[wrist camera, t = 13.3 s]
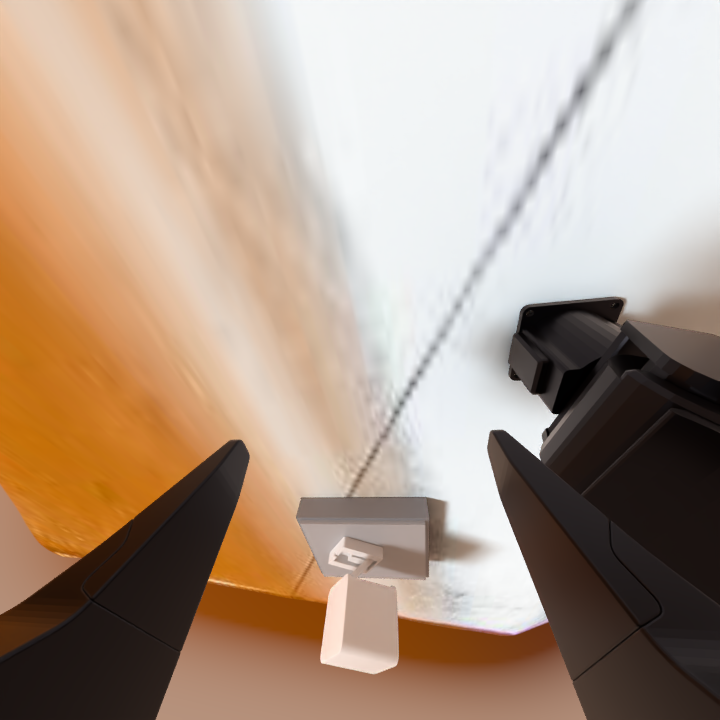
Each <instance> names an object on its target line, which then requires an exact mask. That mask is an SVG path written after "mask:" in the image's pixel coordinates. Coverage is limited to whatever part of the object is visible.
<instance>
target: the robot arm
mask: <svg viewBox="0 0 720 720" xmlns="http://www.w3.org/2000/svg"><path fill="white" fill-rule="evenodd" d="M614 303H615V304H614ZM612 304H614V306H612ZM611 306H612V307H611ZM622 307H623V301H622V300H621V299H619V298H617V297H610V298H599V299H588V300H577V301H566V302H555V303H544V304H533V305H526V306H524V307H523V308H522V309H521V311H520V316H519V321H518V326H517V331H516V333H515V334H514V335H513V339H512V344H511V349H510V355H509V360H508V362H509V364H510V368H509V373H508V375H509V377H510V378H511V379H512V380H514V381H518V380H521V381H522V382H523V383H524V385H525V386H526V387H527V389H528V390H529V392H531V393H532V394H533V395H537V394H538V395H539V396H540V398H541V399H542V400H543V402H544V403H545V404H546V406H547V407H548V408H549V410H550V411H551V412H552V413H553V414H559V415H558V416H557V418H556V419H555V420H554V422H553V423H552V424H551V426H550V427H549V428H546V429H545V430H544V432H543V433H542V439H543V444H542V447H541V450H540V459H541V461H540V460H539V459H538V458H537V457H536V456H534V455H533V454H532V453H531V452H530V451H528V450H527V449H526V448H525V447H524V446H523V445H521V444H520V443H519V442H518V441H517V440H515V439H514V438H513V437H512V436H511V435H509V434H508V433H507V432H506V431H504V430H491V431H490V434H489V440H488V446H487V449H488V455H489V459H490V462H491V466H492V470H493V473H494V477H495V481H496V484H497V488H498V492H499V495H500V498H501V501H502V504H503V507H504V509H505V512H506V514H507V517H508V519H509V522H510V524H511V527H512V529H513V532H514V535H515V537H516V540H517V542H518V545H519V547H520V550H521V552H522V555H523V557H524V560H525V563H526V565H527V568H528V570H529V573H530V575H531V578H532V580H533V583H534V585H535V588H536V591H537V593H538V596H539V598H540V601H541V603H542V606H543V608H544V611H545V613H546V616H547V619H548V621H549V623H550V626H551V629H552V631H553V634H554V636H555V639H556V641H557V644H558V646H559V649H560V652H561V654H562V657H563V659H564V662H565V664H566V667H567V669H568V672H569V675H570V677H571V679H572V680H573V685H574V688H575V690H576V693H577V695H578V698H579V700H580V703H581V706H582V708H583V711H584V713H585V716H586V718H587V720H720V337H719V336H716V335H712V334H708V333H702V332H696V331H690V330H684V329H679V328H673V327H667V326H661V325H655V324H649V323H644V322H638V321H632V320H626V322H625V323H624V324H623V326H622V325H620V324H619V323H617V319H618V317H619V314H620V312H621V309H622ZM529 310H531V313H530V314H527V315H526V313H527V312H528V311H529ZM514 374H517V375H514ZM249 458H250V456H249V452H248V450H247V448H246V446H245V444H244V443H243V441H242V440H230V441H228V442H227V443H226V444H225V445H223V446H222V447H221V448H220V449H219V450H217V451H216V452H215V453H214V454H212V455H211V456H210V457H209V458H207V459H206V460H205V461H204V462H202V463H201V464H200V465H199V466H198V467H196V468H195V469H194V470H193V471H191V472H190V473H189V474H188V475H186V476H185V477H184V478H183V479H181V480H180V481H179V482H178V483H176V484H175V485H174V486H173V487H172V488H170V489H169V490H168V491H167V492H165V493H164V494H163V495H162V496H160V497H159V498H158V499H157V500H155V501H154V502H153V503H152V504H151V505H149V506H148V507H147V508H146V509H144V510H143V511H142V512H141V513H139V514H138V515H137V516H136V517H135V518H134V519H132V520H131V521H129V522H128V523H127V524H126V525H124V526H123V527H122V528H121V529H120V530H118V531H117V532H116V533H114V534H113V535H112V536H111V537H109V538H108V539H107V540H106V541H104V542H103V543H102V544H100V545H99V546H98V547H96V548H95V549H94V550H92V551H91V552H90V553H88V554H87V555H86V556H84V557H83V558H82V559H80V560H79V561H78V562H77V563H75V564H74V565H72V566H71V567H69V568H68V569H67V570H65V571H64V572H63V573H61V574H60V575H59V576H58V577H56V578H54V579H53V580H52V581H50V582H49V583H48V584H46V585H45V586H44V587H42V588H41V589H40V590H38V591H37V592H35V593H34V594H33V595H31V596H30V597H28V598H27V599H26V600H24V601H23V602H21V603H20V604H18V605H17V606H15V607H13V608H12V609H10V610H8V611H6V612H5V613H3V614H1V615H0V720H155V719H156V717H157V714H158V712H159V709H160V706H161V704H162V701H163V698H164V695H165V693H166V690H167V688H168V685H169V683H170V680H171V677H172V675H173V672H174V669H175V667H176V664H177V661H178V659H179V656H180V651H181V650H182V648H183V645H184V642H185V640H186V637H187V634H188V632H189V629H190V626H191V624H192V621H193V619H194V616H195V613H196V610H197V608H198V605H199V603H200V600H201V597H202V595H203V592H204V590H205V587H206V584H207V582H208V579H209V576H210V574H211V571H212V568H213V566H214V563H215V560H216V558H217V555H218V553H219V550H220V547H221V545H222V542H223V539H224V537H225V534H226V531H227V529H228V526H229V523H230V521H231V518H232V515H233V513H234V510H235V508H236V505H237V502H238V499H239V496H240V492H241V489H242V485H243V481H244V478H245V474H246V470H247V467H248V463H249Z"/></svg>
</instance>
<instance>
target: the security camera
mask: <svg viewBox="0 0 720 720" xmlns="http://www.w3.org/2000/svg"><path fill="white" fill-rule="evenodd" d="M382 560H383V547H380V546H376V545H373V544H370V543H366V542H363V541H359V540H356V539H353V538H349V537H346V536H345V537H343V538H342V539H341V540H340V541H339V543H338V544H337V545H336V546H335V547H334V548H333V549H332V551H331V552H330V555H329V562H328V564H330V565H334V566H338V567H341V568H345V569H349V570H352V571H353V572H352V573H351V574H346V575H345V576H344V577H342V578H341V579H340V580H339V581H338V582H337V583H336V584H335V585H334V586H333V587H332V588H331V590H330V593H329V597H328V605H327V612H326V620H325V627H324V636H323V642H322V650H321V663H324V664H328V665H334V666H338V667H343V668H348V669H352V670H357V671H361V672H367V673H371V674H376V673H379V672H382V671H384V670H387V669H389V668H392V667H395V666H396V665H397V663H398V658H399V646H398V616H397V591H396V588H395V587H394V586H391V587H388V586H384V585H381V584H377V583H373V582H370V581H366V580H362V579H358V578H357V577H358V576H359V575H360V574H361V573H363V574H366V573H368V572H369V571H370V570H371V569H372V568H373V567H375V566H376V565H377V564H378V563H379V562H380V561H382Z"/></svg>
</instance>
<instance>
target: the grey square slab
mask: <svg viewBox="0 0 720 720" xmlns="http://www.w3.org/2000/svg"><path fill="white" fill-rule="evenodd" d="M296 519H297V521H298V523H299V525H300V527H301V529H302V531H303V534H304V536H305V538H306V540H307V542H308V544H309V546H310V549H311V551H312V553H313V555H314V557H315V559H316V561H317V564H318V566H319V568H320V570H321V572H322V574H323V575H324V576H325V577H344V576H345V575H346V574H351V573H352V572H353V571H352V570H349V569H345V568H341V567H338V566H334V565H330V564H328V562H329V555H330V552H331V551H332V549H333V548H334V547H335V546H336V545H337V544H338V543H339V541H340V540H341V539H342V538H343V537H345V536H346V537H349V538H353V539H356V540H359V541H363V542H366V543H370V544H373V545H376V546H380V547H383V560H382V561H380V562H379V563H378V564H377V565H376V566H375V567H373V568H372V569H371V570H370V571H369V572H368V573H366V574H363V573H361V574H360V575H359V576H358V577H357V578H384V579H414V580H426V577H429V513H428V506H427V499H426V497H400V498H301V501H300V504H299V508H298V512H297V516H296Z"/></svg>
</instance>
